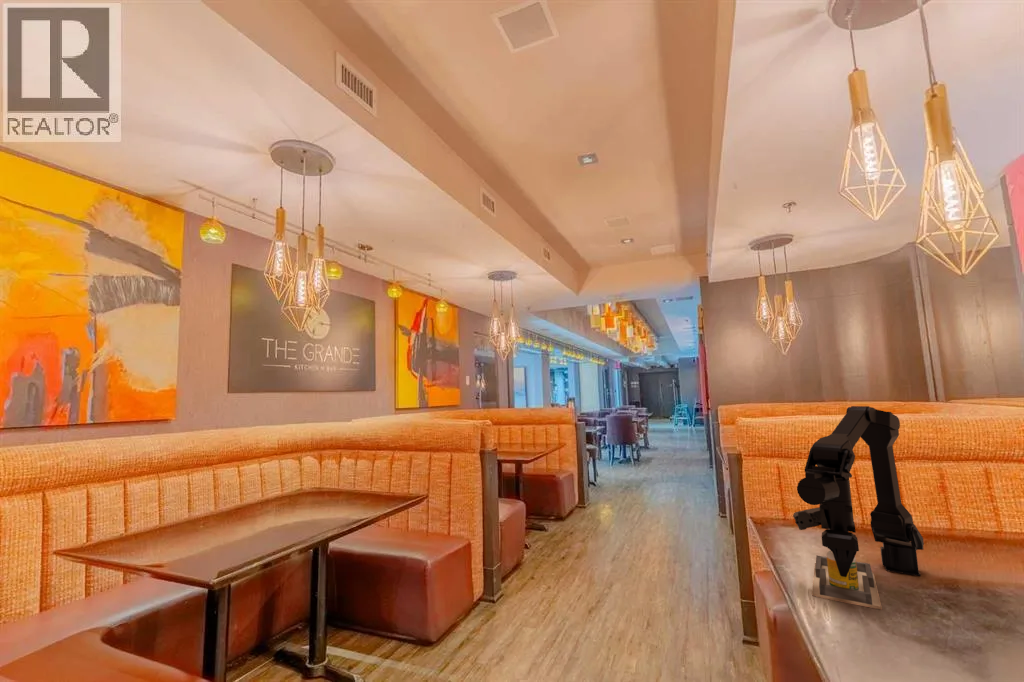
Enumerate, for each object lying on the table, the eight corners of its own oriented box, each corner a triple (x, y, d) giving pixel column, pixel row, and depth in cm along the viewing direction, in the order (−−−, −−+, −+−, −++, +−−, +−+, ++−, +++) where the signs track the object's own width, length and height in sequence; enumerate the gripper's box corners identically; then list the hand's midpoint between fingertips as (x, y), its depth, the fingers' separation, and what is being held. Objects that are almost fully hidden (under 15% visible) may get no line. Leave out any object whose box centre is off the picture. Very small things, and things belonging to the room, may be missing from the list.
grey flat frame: (873, 575, 111) (872, 564, 111) (881, 609, 93) (880, 596, 93) (815, 565, 118) (814, 554, 118) (812, 595, 100) (811, 583, 100)
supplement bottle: (835, 582, 103) (831, 538, 105) (863, 590, 99) (858, 544, 100) (825, 588, 100) (820, 542, 102) (853, 596, 96) (848, 549, 97)
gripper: (796, 488, 114) (802, 553, 112) (791, 503, 99) (797, 578, 97) (851, 493, 108) (858, 562, 106) (854, 509, 93) (863, 590, 91)
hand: (843, 572), depth 100 cm, fingers closed on supplement bottle, 5 cm apart
